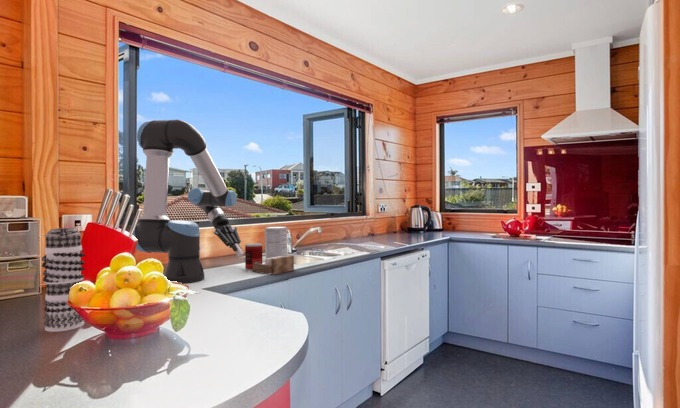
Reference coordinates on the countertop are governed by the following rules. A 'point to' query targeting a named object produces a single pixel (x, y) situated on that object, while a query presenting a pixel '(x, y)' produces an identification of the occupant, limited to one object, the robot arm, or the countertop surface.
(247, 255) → the canned food
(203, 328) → the countertop surface
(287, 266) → the dock
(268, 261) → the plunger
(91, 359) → the countertop surface
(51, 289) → the decorative candle
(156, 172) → the robot arm
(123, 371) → the countertop surface
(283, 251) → the white canister
